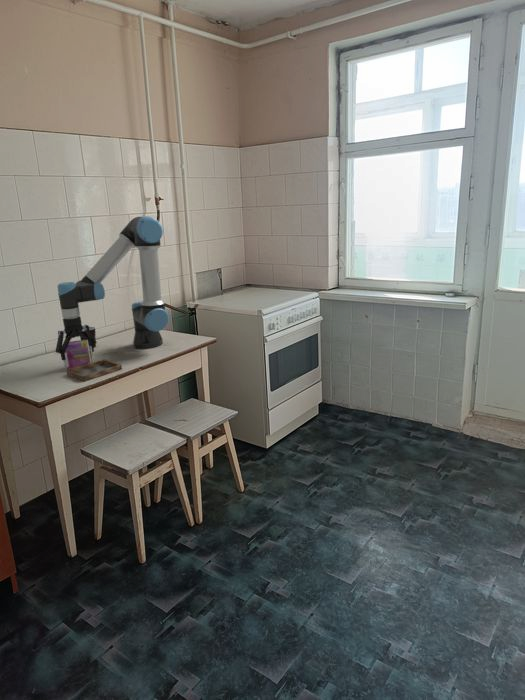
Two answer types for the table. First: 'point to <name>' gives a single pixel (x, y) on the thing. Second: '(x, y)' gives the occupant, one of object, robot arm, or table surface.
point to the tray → (93, 370)
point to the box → (78, 353)
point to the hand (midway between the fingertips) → (79, 362)
